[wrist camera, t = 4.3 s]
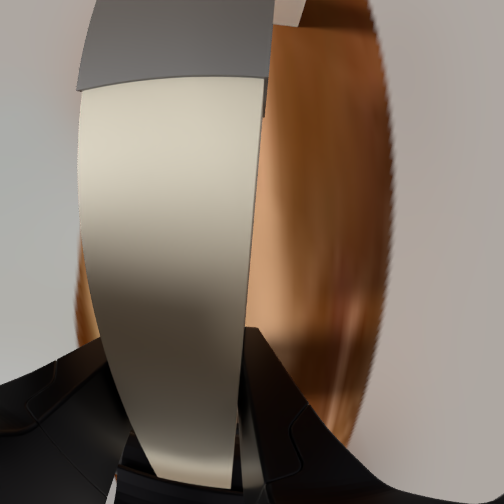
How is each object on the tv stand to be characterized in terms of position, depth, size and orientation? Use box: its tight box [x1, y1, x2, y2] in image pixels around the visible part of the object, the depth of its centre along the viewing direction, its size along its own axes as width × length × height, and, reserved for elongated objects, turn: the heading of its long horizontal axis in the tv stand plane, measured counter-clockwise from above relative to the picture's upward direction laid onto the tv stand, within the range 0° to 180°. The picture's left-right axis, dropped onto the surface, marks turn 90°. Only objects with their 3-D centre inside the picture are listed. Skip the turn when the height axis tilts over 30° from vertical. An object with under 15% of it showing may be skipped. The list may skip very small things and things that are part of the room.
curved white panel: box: [76, 0, 275, 489], centre depth 6 cm, size 14×3×4 cm, turn 175°
